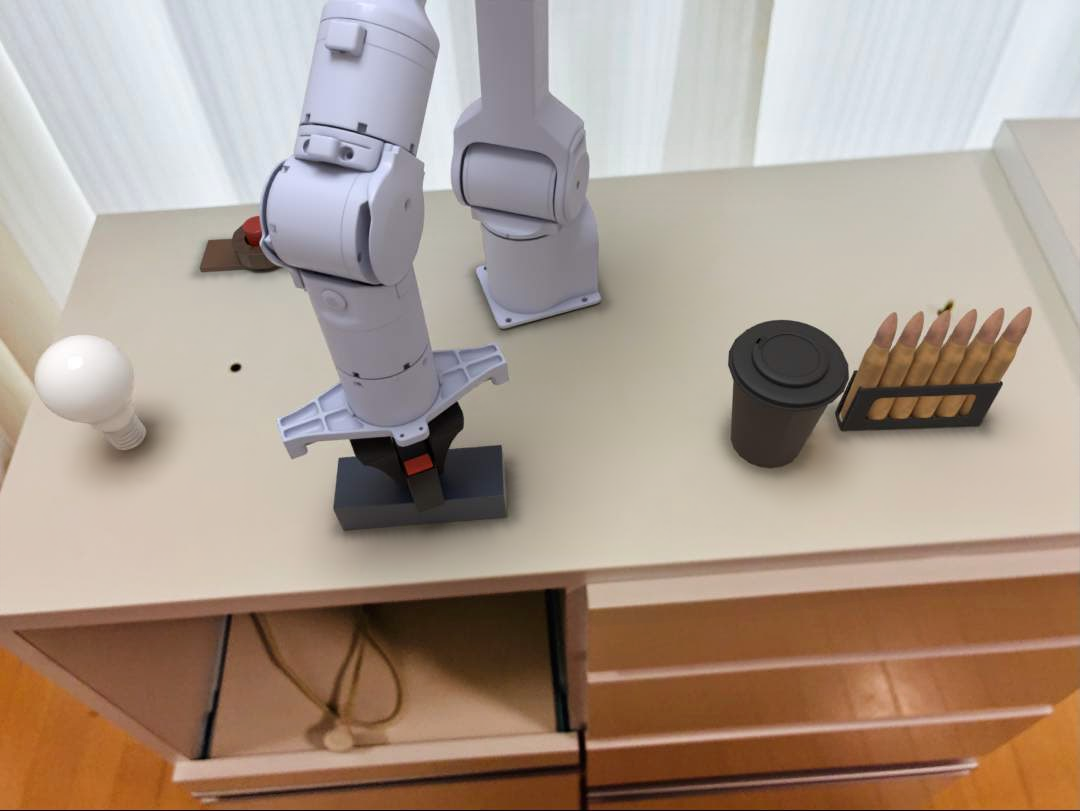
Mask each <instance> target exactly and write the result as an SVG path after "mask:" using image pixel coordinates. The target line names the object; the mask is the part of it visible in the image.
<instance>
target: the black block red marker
mask: <svg viewBox="0 0 1080 811" xmlns="http://www.w3.org/2000/svg"><path fill="white" fill-rule="evenodd" d="M390 437H391V439H392V442H393V444H394V447H395V449H396V452H397V456H398V459H399V461H400V464H401V467H402V469H403V472H404V474H405V477H406V480H407V484H408V488H409V490H410V493H411V496H412V498H413V501H414V504H415V506H416V509H417V512H418V513H422V512H424V511H427V510H430V509H432V508H435V507H438V506H440V505H443V504H445V500H444V496H443V492H442V488H441V484H440V481H439V477H438V473H437V469H436V466H435V464H434V461H433V459H432V456H431V454H430V452H429V449H428V447H427V444H426V442H425V439H424V440H422V441H419V442H416V443H414V444H411V445H408V446H404V447H402V446H398V444H397V443H396V441H395V439H394V438H393V437H392V436H390Z"/></svg>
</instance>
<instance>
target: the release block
mask: <svg viewBox="0 0 1080 811" xmlns="http://www.w3.org/2000/svg"><path fill="white" fill-rule="evenodd" d="M283 268H284V267H280V266H277V265H275V264H274V263H272V262H271V261H270V260H269V259H268V258H267V257H266V256H265V254H264V252H263V251H262V249H261V247H260V246H252V245H251V244H250V243H249V242H248V239H247V237H246V235H245V232H244V230H243V224H241V225H240V226H239V227H238V228H237V229H236V230H235V231H234V232H233V233H232V237H231V238H220V239H208V240H207V243H206V246H205V249H204V252H203V255H202V259H201V261H200V264H199V270H200V273H211V272H212V273H213V272H231V271H247V270H249V271H250V270H262V269H263V270H265V269H267V270H268V269H283ZM284 269H285V268H284Z"/></svg>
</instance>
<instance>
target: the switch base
mask: <svg viewBox="0 0 1080 811" xmlns="http://www.w3.org/2000/svg"><path fill="white" fill-rule="evenodd" d="M337 459H338V460H337V470H336V479H335V486H334V487H335V488H334V496H333V497H334V498H333V506H332V507H333V508H332V509H333V512H334V514H335V516H336V518H337V521H338V523H339V524H340V526H341V530H343V531H351V530H352V531H353V530H361V529H363V530H364V529H374V528H388V527H400V526H401V527H402V526H413V525H427V524H439V523H451V522H452V523H453V522H465V521H478V520H489V519H500V518H501V519H502V518H503V519H504V518H508V505H507V503H508V502H507V484H506V483H507V482H506V466H505V459H504V452H503V446H502V444H495V445H484V446H470V447H469V446H468V447H456V448H449V450H448V453H447V456H446V460H445V466H444V473H443V474H441V475H438V477H439V481H440V484H441V488H442V492H443V496H444V500H445V504H443V505H440V506H438V507H435V508H432V509H430V510H427V511H424V512H422V513H418V512H417V509H416V506H415V504H414V501H413V498H412V496H411V493H410V490H409V488H408V487H406V488H404V489H399V487H398V485H397V484H396V483H395V482H394V481H393V480H392V479H391V478H390V477H389V476H388V475H387V474H385V473H384V472H382V471H381V470H379V469H377V468H374V467H371V466H364V465H363V464H362V463H361V462H360V461H359V460H358V459H357V457H356V456H355V455H354V456H343V457H338V458H337Z"/></svg>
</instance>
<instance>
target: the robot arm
mask: <svg viewBox="0 0 1080 811" xmlns="http://www.w3.org/2000/svg"><path fill="white" fill-rule="evenodd" d="M427 1H428V0H328V1H327V2H326V3H324V5H323V6H322V8H321V13H320V19H319V24H318V28H317V33H316V39H315V43H314V49H313V53H312V57H311V64H310V68H309V73H308V78H307V83H306V87H305V92H304V97H303V103H302V108H301V114H300V118H299V123H298V128H297V134H296V138H295V143H294V147H293V154H292V155H290V156H289V157H288V158H285V159H282V160H280V161H279V162H278V163H276V165H275V166H274V167H273V168H272V169H271V171H270V172H269V174H268V175H267V177H266V180H265V182H264V184H263V187H262V191H261V195H260V201H259V216H260V224H261V229H262V238H261V240H260V247H261V249H262V251H263V252H264V254H265V256H266V257H267V258H268V259H269V260H270V261H271V262H272V263H274V264H275V265H277V266H280V267H284V269H286V270H287V271H288V272H289V274H290V277H291V279H292V282H293V284H294V286H295V288H297V289H301V290H303V291H304V292H306V293H307V296H308V297H309V300H310V303H311V306H312V308H313V311H314V314H315V317H316V319H317V322H318V325H319V327H320V330H321V332H322V335H323V338H324V341H325V343H326V346H327V349H328V351H329V354H330V356H331V360H332V362H333V366H334V368H335V371H336V373H337V377H338V378H339V381H338V382H336V383H335V384H333V385H332V386H330V387H329V388H327V389H326V390H325V391H323V392H321V393H320V394H318V395H317V396H315V397H313V399H311V400H310V401H308V402H306V403H305V404H304V405H303V404H302V406H299V408H296V409H295V410H292V411H291V412H289V413H287V414H284V415H281V416H279V417H277V418H275V421H276V425H277V428H278V432H279V435H280V439H281V441H282V443H283V446H284V448H285V450H286V452H287V453H288V456H289V458H290V459H291V460H295V459H297V458H300V457H303V456H305V455H307V454H308V452H309V450H308V446H310V445H312V444H316V443H318V442H331V441H333V442H334V441H344V440H348V441H349V443H350V446H351V448H352V451H353V454H354V456H356V457H357V459H358V460H359V461H360V462H361V463H362V464H363V465H364V466H371V467H374V468H377V469H379V470H381V471H382V472H384V473H385V474H387V475H388V476H389V477H390V478H391V479H392V480H393V481H394V482H395V483H396V484H397V485H398V487H399V489H404V488H406V487H408V484H407V480H406V477H405V474H404V472H403V469H402V467H401V464H400V461H399V459H398V456H397V452H396V449H395V447H394V444H393V442H392V439H391V437H390V436H392V437H393V438H394V439H395V441H396V443H397V444H398V446H402V447H404V446H408V445H411V444H414V443H416V442H419V441H422V440H424V439H425V442H426V444H427V447H428V449H429V452H430V454H431V456H432V459H433V461H434V464H435V466H436V469H437V473H438V475H441V474H443V473H444V466H445V460H446V456H447V453H448V450H449V449H451V448H450V447H451V446H452V443H453V442H454V440H455V438H457V436H458V435H459V434H460V433H461V432H462V431H463V430H464V427H465V415H464V411H463V409H462V406H461V405H460V403H459V400H461V399H462V398H464V397H465V396H466V395H467V394H469V393H470V392H472V391H473V390H475V389H476V388H477V387H478V386H480V385H481V384H483V383H485V382H488V381H491V384H492V385H493V386H499V385H503V384H505V383H508V382H510V374H509V368H508V367H509V366H508V361H507V359H506V357H505V355H504V354H503V352H502V350H501V348H500V346H499V344H498V343H497V342H496V341H494V342H491V343H487V344H484V345H479V346H474V347H465V348H464V347H463V348H451V349H437V350H433V349H432V348H433V347H432V343H431V339H430V335H429V330H428V326H427V321H426V316H425V312H424V308H423V302H422V299H421V294H420V291H419V285H418V281H417V276H416V272H415V268H414V261H415V259H416V256H417V254H418V250H419V247H420V242H421V239H422V236H423V232H424V225H425V197H424V180H425V174H426V172H425V162H424V161H422V159H420V158H418V157H417V155H418V150H419V146H420V141H421V138H422V136H421V135H422V132H423V127H424V122H425V117H426V113H427V108H428V105H429V104H428V103H429V98H430V94H431V89H432V85H433V81H434V80H433V79H434V75H435V70H436V66H437V62H438V58H439V54H440V53H439V52H440V47H441V43H440V39H439V37H438V34H437V32H436V31H435V28H434V27H433V24H432V22H431V21H430V19H429V17H428V15H427V13H426V4H427ZM474 6H475V7H474V8H475V23H476V36H477V37H476V39H477V53H478V71H479V85H480V86H479V87H480V97H479V98H477V99H475V100H474V101H472V102H471V103H469V105H467V107H466V108H465V109H464V110H463V111H462V113H461V114H460V115H459V117H458V119H457V121H456V123H455V125H454V128H453V132H452V134H453V149H452V150H453V152H452V157H451V162H450V163H451V164H450V183H451V189H452V191H453V194H454V195H455V199H456V200H457V202H458V203H459V204H460V205H461V206H465V207H470V212H471V219H473V220H475V221H478V222H480V228H481V238H482V245H483V252H484V259H485V264H483V265H480V266H478V267H477V268H475V275H476V276H477V279H478V282H479V284H480V286H481V289H482V291H483V294H484V296H485V298H486V300H487V304H488V305H489V309H490V311H491V312H492V315H493V318H494V320H495V323H496V325H497V327H498V328H499V329H503V330H505V329H509V328H512V327H516V326H520V325H523V324H526V323H530V322H534V321H538V320H542V319H545V318H548V317H552V316H553V317H554V316H557V315H560V314H564V313H567V312H571V311H575V310H579V309H582V308H586V307H589V306H593V305H597V304H599V303H600V302H601V300H602V297H601V294H600V292H599V251H600V250H599V249H600V248H599V246H600V243H599V242H600V241H599V232H598V227H597V222H596V221H597V220H596V217H595V213H594V211H593V208H592V206H591V203H590V201H589V199H588V197H587V196H586V195H587V191H588V186H589V179H590V167H591V166H590V165H591V164H590V156H589V152H588V149H587V137H586V136H587V132H586V130H585V121H584V120H583V119H582V118H581V117H580V116H579V115H578V114H577V113H576V112H575V111H574V110H572V109H571V108H570V107H568V106H567V105H566V104H565V103H563V102H562V101H561V100H560V99H558V98H557V97H556V96H555V95H553V93H551V91H550V86H549V85H550V79H549V78H550V74H549V73H550V67H549V66H550V64H549V63H550V62H549V61H550V60H549V59H550V56H549V55H550V53H549V52H550V51H549V50H550V47H549V46H550V42H549V41H550V40H549V38H550V37H549V35H550V33H549V32H550V31H549V30H550V29H549V26H550V25H549V22H550V21H549V14H550V13H549V12H550V10H549V8H550V7H549V0H474Z"/></svg>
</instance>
